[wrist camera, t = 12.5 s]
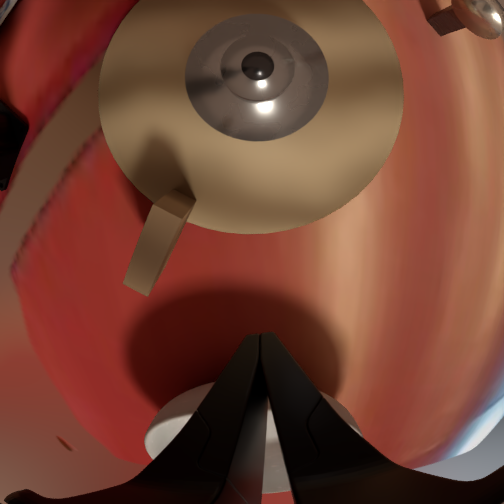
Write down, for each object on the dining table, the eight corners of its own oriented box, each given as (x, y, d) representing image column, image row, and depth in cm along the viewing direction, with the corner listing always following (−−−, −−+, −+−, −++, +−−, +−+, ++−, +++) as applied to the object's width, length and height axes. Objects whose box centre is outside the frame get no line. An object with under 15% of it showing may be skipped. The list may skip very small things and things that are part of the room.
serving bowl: (185, 313, 22) (165, 376, 16) (386, 372, 25) (408, 423, 19) (145, 427, 30) (134, 470, 23) (290, 460, 33) (294, 499, 27)
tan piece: (104, -3, 12) (70, -27, 7) (370, -28, 11) (397, -58, 6) (135, 262, 20) (107, 298, 15) (396, 238, 19) (431, 268, 14)
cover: (190, 37, 13) (172, 12, 9) (310, 28, 12) (327, 1, 9) (200, 147, 16) (185, 151, 12) (322, 137, 15) (344, 139, 12)
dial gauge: (412, 16, 13) (473, -16, 5) (426, 3, 12) (485, -27, 5) (443, 51, 13) (512, 35, 6) (456, 37, 13) (521, 21, 6)
